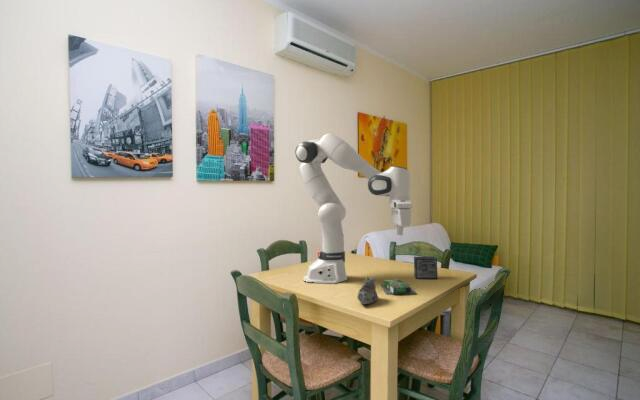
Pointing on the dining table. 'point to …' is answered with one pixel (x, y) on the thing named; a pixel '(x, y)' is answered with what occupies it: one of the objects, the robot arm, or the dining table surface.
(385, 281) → the coffee box
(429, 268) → the small box
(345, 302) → the dining table surface
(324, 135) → the robot arm
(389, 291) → the mat
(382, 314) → the dining table surface
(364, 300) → the mineral rock
